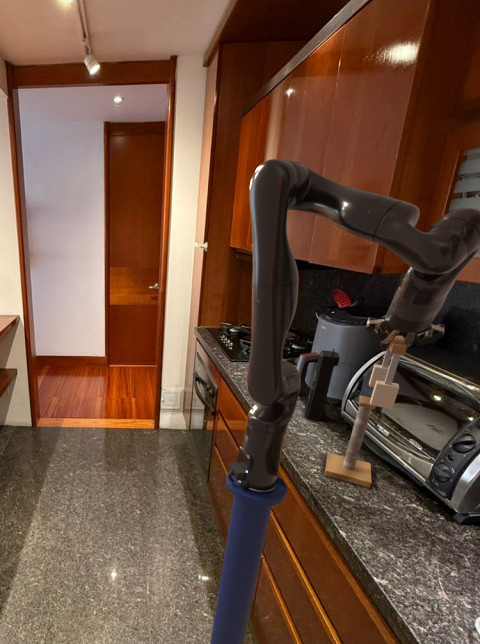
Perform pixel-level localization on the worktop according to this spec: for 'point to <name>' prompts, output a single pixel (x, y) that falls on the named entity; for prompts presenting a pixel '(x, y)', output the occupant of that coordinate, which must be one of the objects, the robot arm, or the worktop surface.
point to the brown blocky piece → (387, 375)
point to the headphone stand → (353, 452)
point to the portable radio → (321, 385)
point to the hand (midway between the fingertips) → (392, 348)
